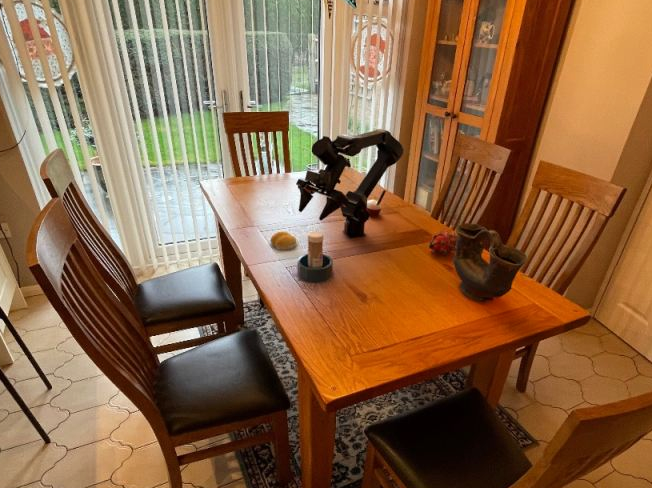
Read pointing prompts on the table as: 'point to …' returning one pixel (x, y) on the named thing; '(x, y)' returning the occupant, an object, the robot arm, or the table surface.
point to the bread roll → (283, 240)
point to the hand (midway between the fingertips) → (309, 215)
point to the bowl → (315, 270)
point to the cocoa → (374, 206)
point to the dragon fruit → (443, 243)
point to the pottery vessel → (484, 263)
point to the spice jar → (315, 249)
